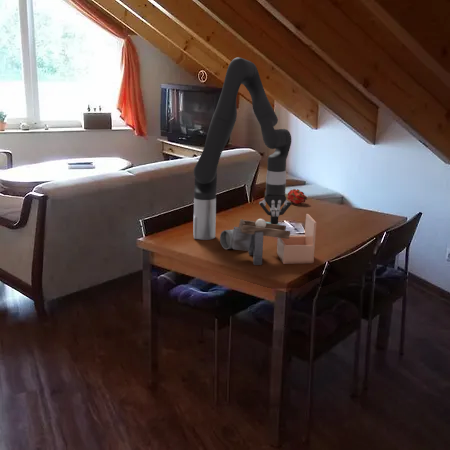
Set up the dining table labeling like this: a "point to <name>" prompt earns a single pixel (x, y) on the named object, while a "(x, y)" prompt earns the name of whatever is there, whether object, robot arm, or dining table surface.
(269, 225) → the lever board
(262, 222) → the ball
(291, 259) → the cup
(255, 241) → the pivot stand
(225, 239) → the ceramic mug
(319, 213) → the dining table surface
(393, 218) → the dining table surface
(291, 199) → the dragon fruit
